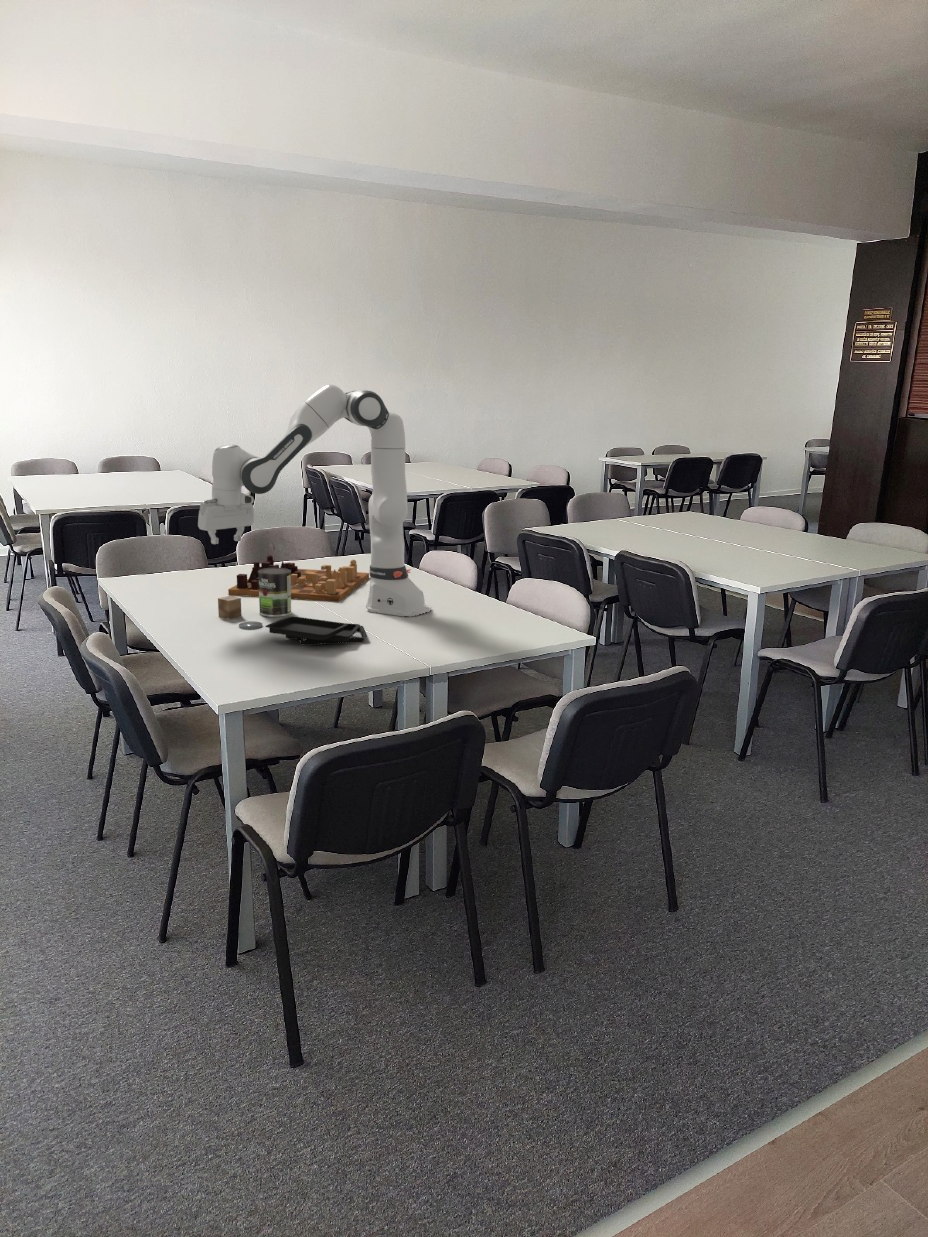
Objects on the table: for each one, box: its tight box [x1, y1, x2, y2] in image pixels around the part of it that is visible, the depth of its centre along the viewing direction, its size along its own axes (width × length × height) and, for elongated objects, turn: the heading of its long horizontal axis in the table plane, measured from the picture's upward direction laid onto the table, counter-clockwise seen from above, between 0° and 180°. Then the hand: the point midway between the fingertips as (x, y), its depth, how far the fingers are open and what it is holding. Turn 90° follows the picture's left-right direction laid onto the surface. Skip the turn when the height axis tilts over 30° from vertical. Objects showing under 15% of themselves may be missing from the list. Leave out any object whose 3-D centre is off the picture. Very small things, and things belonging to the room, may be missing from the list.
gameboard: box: [227, 554, 370, 602], centre depth 328 cm, size 40×40×9 cm
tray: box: [265, 615, 369, 646], centre depth 260 cm, size 30×23×5 cm
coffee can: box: [258, 567, 292, 618], centre depth 288 cm, size 10×10×14 cm
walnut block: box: [217, 595, 243, 620], centre depth 284 cm, size 5×5×6 cm
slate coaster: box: [238, 621, 263, 630], centre depth 273 cm, size 7×7×1 cm
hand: (226, 542), depth 280 cm, fingers open, 8 cm apart
